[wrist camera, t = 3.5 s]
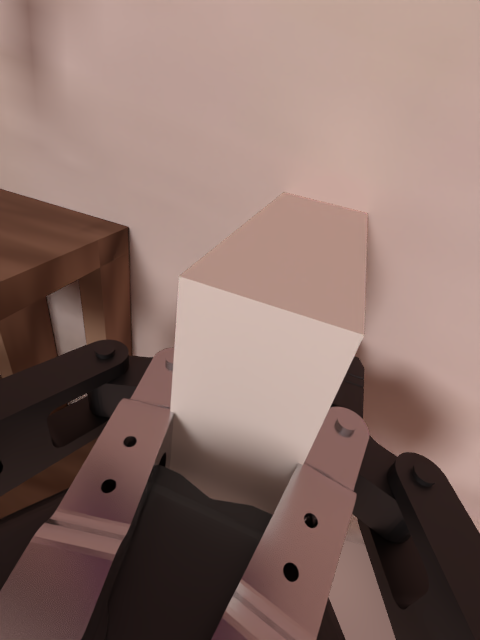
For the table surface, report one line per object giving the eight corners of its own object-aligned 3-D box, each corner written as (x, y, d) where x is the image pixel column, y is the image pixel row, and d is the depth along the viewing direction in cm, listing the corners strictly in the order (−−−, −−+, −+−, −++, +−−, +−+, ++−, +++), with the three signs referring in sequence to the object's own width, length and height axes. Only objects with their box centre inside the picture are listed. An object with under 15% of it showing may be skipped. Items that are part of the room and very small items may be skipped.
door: (284, 192, 12) (179, 276, 5) (397, 219, 11) (435, 358, 5) (239, 386, 17) (161, 544, 11) (313, 414, 17) (276, 600, 10)
